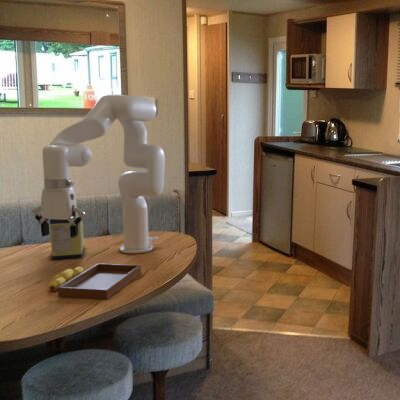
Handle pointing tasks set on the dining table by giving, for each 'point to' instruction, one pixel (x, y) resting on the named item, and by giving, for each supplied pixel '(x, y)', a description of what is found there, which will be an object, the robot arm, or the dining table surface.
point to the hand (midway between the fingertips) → (59, 236)
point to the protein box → (65, 240)
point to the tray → (99, 281)
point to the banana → (64, 277)
